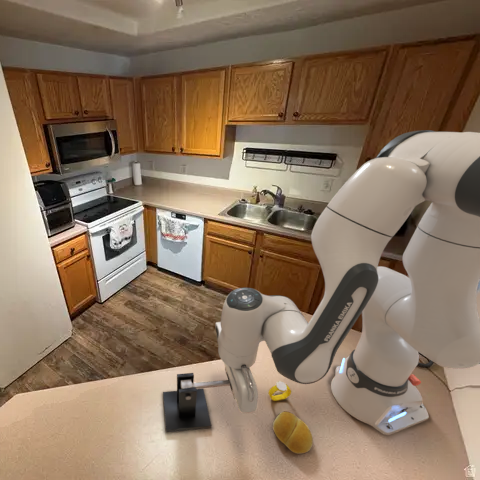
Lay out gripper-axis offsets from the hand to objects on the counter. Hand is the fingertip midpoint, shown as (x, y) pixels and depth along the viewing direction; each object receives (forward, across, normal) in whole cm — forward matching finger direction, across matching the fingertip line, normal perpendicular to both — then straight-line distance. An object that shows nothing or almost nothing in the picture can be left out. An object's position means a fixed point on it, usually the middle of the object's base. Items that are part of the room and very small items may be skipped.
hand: (232, 383), depth 68 cm
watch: (+11, +1, -15) cm, 18 cm away
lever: (+1, 0, +7) cm, 7 cm away
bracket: (+10, 0, +12) cm, 16 cm away
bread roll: (+11, -8, -14) cm, 19 cm away
